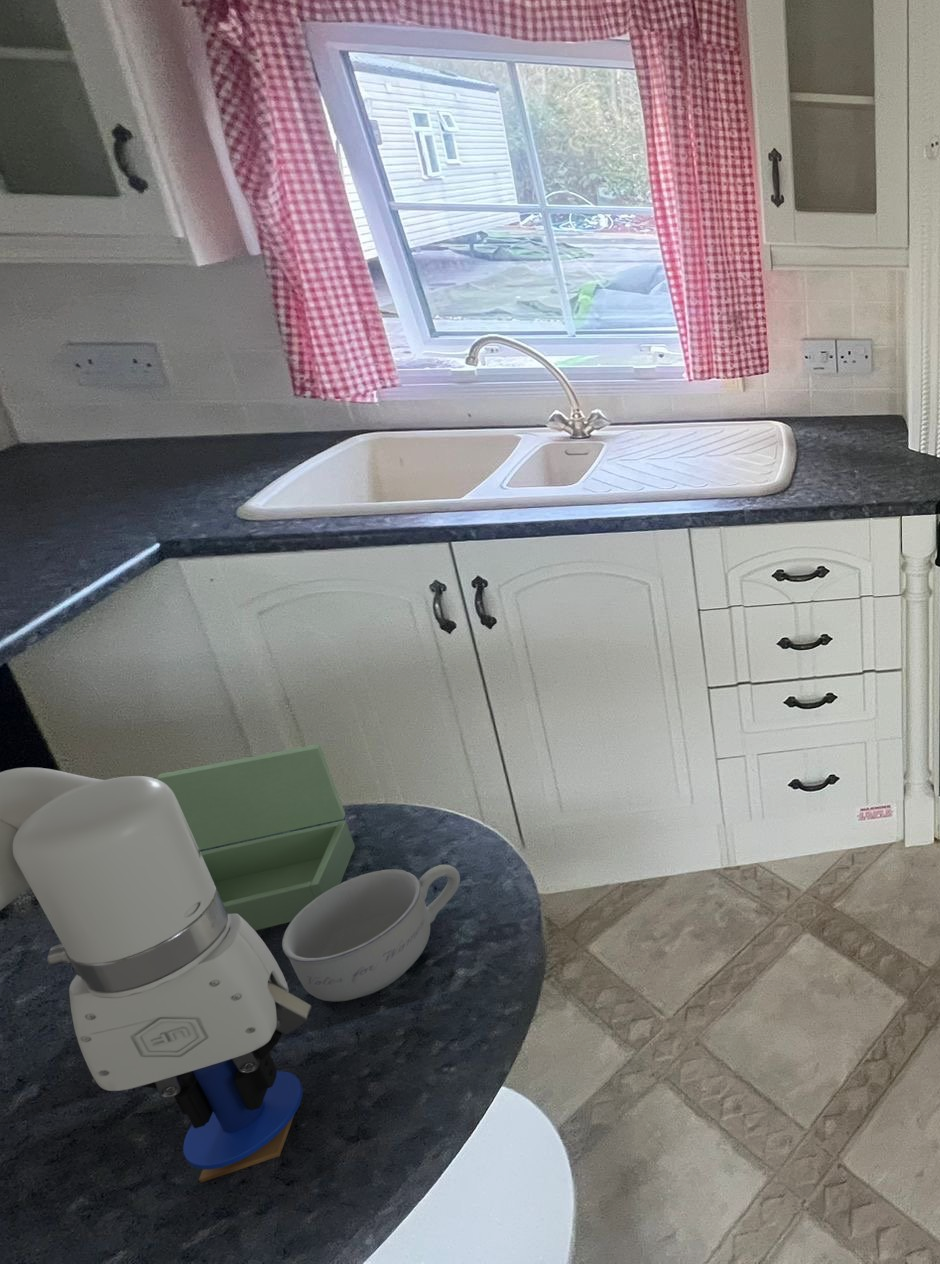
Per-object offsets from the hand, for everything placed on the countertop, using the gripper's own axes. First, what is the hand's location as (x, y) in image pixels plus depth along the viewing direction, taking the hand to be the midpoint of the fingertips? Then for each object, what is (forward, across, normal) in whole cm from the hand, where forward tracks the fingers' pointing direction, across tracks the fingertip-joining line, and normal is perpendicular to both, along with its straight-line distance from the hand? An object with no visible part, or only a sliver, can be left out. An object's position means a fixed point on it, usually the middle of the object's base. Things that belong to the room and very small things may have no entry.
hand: (235, 1099), depth 66 cm
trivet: (+5, 0, 0) cm, 5 cm away
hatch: (-5, -8, +33) cm, 34 cm away
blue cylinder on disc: (+3, 0, 0) cm, 3 cm away
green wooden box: (+5, -8, +29) cm, 30 cm away
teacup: (+5, +6, +15) cm, 17 cm away
